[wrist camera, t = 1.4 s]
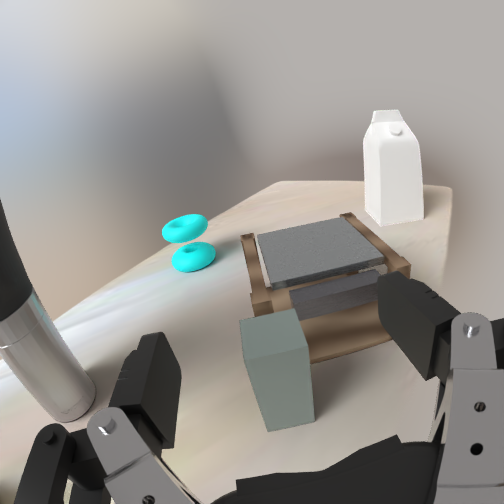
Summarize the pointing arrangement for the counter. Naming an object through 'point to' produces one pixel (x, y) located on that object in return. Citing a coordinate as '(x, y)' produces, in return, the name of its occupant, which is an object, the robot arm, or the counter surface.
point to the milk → (392, 170)
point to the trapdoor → (321, 266)
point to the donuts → (193, 253)
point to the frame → (334, 324)
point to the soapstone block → (279, 368)
